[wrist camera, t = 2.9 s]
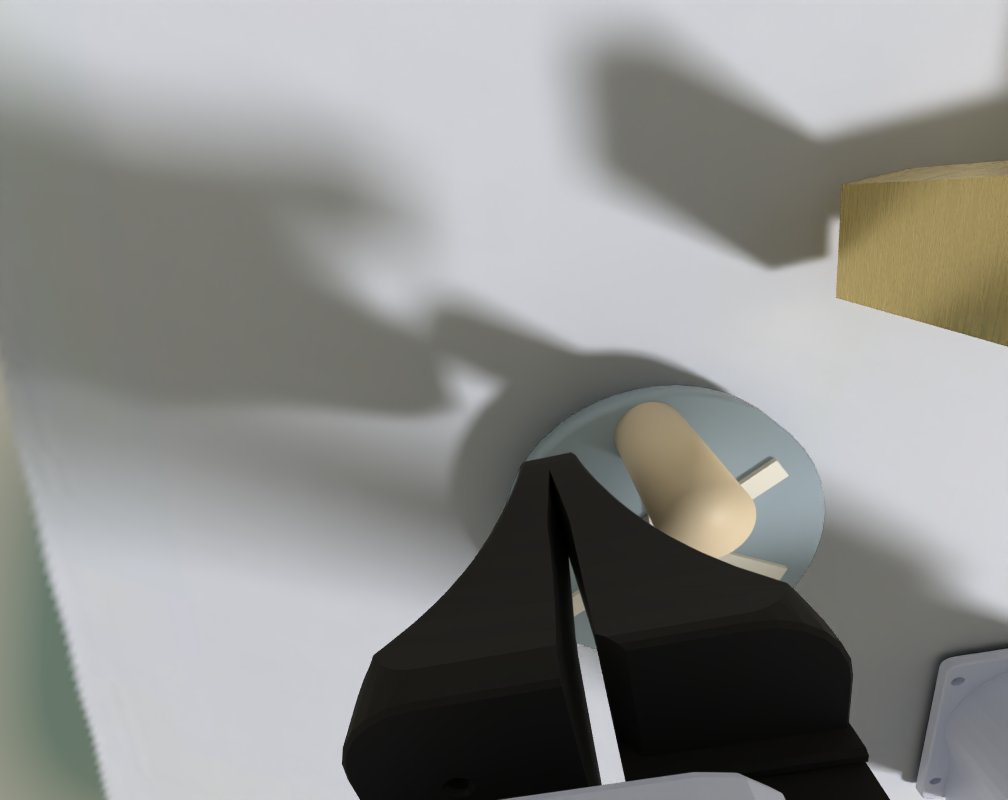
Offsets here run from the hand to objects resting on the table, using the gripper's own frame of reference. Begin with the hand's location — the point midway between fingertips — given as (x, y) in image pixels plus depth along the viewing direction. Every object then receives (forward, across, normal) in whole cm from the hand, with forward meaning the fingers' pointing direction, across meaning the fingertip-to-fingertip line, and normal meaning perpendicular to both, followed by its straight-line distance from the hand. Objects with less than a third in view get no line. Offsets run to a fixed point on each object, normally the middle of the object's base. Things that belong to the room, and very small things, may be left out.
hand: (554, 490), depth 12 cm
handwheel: (+4, -3, +4) cm, 6 cm away
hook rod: (+2, -15, -4) cm, 16 cm away
